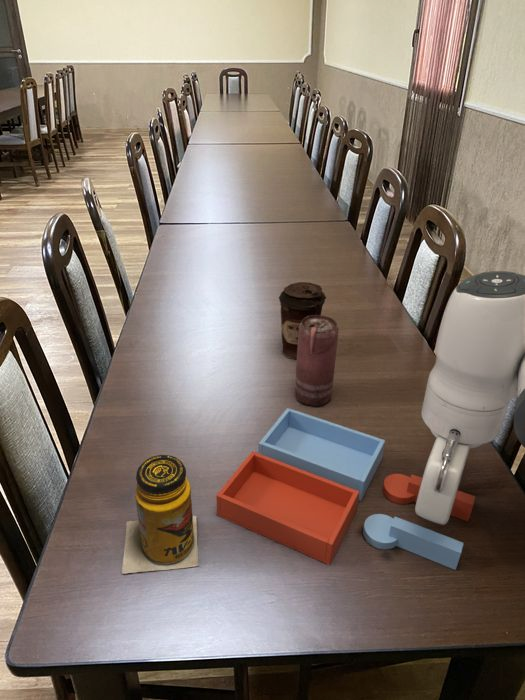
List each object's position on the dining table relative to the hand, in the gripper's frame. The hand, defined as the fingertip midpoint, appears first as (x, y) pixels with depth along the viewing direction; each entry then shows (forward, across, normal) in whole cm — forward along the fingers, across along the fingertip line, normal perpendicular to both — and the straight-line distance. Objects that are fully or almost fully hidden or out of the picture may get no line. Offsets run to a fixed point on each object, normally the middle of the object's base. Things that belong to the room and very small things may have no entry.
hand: (440, 495), depth 68 cm
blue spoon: (+2, -8, +2) cm, 8 cm away
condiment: (+2, -22, +28) cm, 35 cm away
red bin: (+2, -10, +16) cm, 20 cm away
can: (+2, +14, +24) cm, 27 cm away
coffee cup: (+2, +26, +32) cm, 41 cm away
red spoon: (+2, 0, +2) cm, 2 cm away
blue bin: (+2, 0, +16) cm, 17 cm away
